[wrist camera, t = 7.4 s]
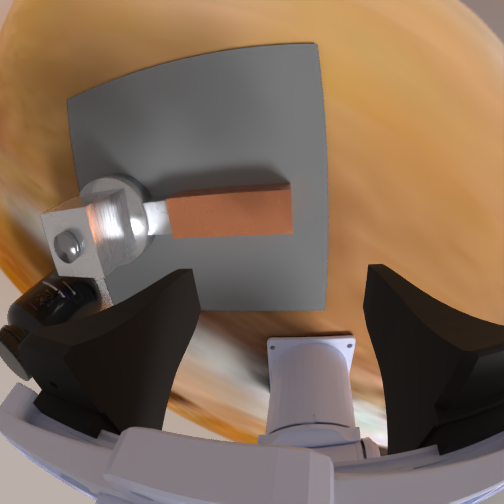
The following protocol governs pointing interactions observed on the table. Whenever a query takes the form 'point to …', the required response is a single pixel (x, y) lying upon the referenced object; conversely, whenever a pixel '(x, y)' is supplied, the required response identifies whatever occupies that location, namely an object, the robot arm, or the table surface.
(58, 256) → the socket
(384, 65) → the table surface
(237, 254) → the mat
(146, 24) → the table surface
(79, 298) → the supplement bottle
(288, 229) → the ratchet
